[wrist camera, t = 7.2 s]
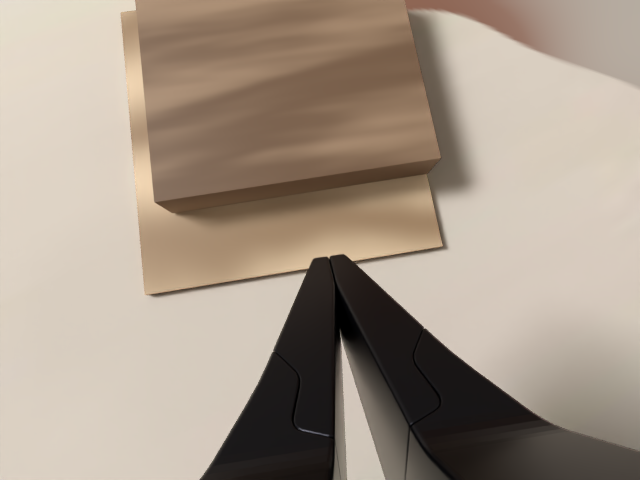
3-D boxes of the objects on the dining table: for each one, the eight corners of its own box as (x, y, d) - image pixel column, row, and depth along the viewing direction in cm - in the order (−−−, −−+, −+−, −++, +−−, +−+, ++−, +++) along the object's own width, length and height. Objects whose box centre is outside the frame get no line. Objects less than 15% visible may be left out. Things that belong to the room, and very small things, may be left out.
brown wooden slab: (441, 157, 19) (396, -37, 21) (154, 202, 19) (135, -2, 20) (426, 174, 22) (387, -1, 24) (173, 213, 21) (154, 30, 23)
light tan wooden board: (440, 247, 21) (442, 246, 21) (148, 295, 21) (144, 294, 20) (381, -18, 24) (382, -23, 24) (124, 17, 24) (120, 12, 23)
